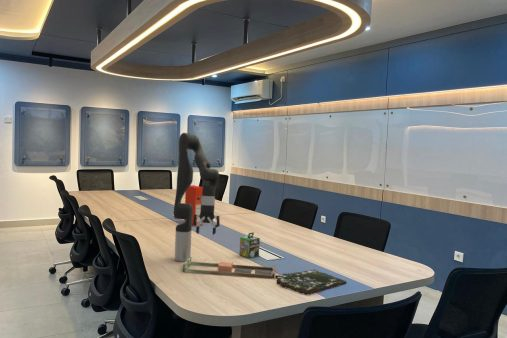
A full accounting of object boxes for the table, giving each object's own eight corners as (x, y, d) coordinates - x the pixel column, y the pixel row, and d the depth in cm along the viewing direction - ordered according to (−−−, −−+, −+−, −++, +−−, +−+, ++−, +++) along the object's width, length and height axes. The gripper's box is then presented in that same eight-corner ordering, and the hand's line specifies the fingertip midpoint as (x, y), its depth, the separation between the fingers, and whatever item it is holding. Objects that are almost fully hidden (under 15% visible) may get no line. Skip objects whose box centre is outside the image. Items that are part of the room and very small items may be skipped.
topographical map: (346, 284, 207) (346, 278, 207) (302, 297, 186) (303, 291, 186) (309, 270, 227) (309, 265, 226) (266, 281, 206) (266, 275, 206)
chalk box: (249, 252, 256) (250, 230, 255) (259, 256, 250) (260, 232, 249) (238, 255, 250) (239, 231, 249) (248, 258, 243) (250, 234, 242)
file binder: (193, 226, 327) (195, 187, 325) (184, 222, 341) (185, 185, 339) (202, 225, 332) (203, 187, 330) (192, 221, 346) (194, 185, 344)
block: (219, 268, 221) (220, 261, 221) (232, 269, 221) (232, 262, 220) (217, 272, 214) (218, 265, 214) (230, 273, 214) (231, 266, 213)
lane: (189, 264, 226) (189, 257, 226) (274, 270, 223) (275, 263, 223) (182, 272, 212) (182, 264, 212) (274, 278, 208) (274, 271, 208)
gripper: (221, 205, 223) (219, 234, 221) (196, 203, 224) (194, 232, 222) (219, 205, 215) (217, 235, 214) (193, 203, 216) (191, 233, 215)
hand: (205, 234), depth 218 cm, fingers open, 8 cm apart
